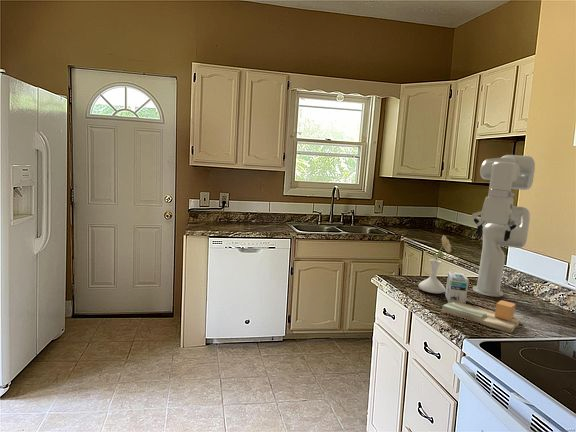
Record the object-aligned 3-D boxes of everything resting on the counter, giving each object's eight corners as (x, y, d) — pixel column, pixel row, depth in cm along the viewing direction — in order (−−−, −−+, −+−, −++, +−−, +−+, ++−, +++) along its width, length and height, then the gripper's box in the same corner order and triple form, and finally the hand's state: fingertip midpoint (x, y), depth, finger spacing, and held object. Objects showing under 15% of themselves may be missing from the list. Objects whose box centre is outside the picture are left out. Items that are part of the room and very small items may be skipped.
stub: (498, 312, 164) (500, 300, 163) (513, 316, 161) (515, 303, 160) (494, 316, 159) (496, 303, 159) (509, 320, 156) (511, 307, 156)
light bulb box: (465, 305, 175) (469, 279, 174) (448, 303, 176) (451, 277, 175) (460, 297, 185) (464, 272, 184) (444, 295, 187) (447, 270, 185)
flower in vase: (432, 296, 183) (440, 238, 179) (412, 288, 192) (419, 232, 189) (453, 294, 189) (461, 237, 186) (432, 286, 199) (440, 232, 196)
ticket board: (454, 304, 175) (455, 298, 175) (520, 322, 160) (521, 316, 160) (441, 312, 164) (442, 305, 164) (510, 332, 149) (511, 325, 149)
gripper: (526, 197, 164) (519, 241, 167) (478, 191, 175) (472, 233, 178) (521, 197, 159) (514, 243, 161) (472, 191, 169) (466, 235, 172)
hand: (492, 238), depth 169 cm, fingers open, 9 cm apart
